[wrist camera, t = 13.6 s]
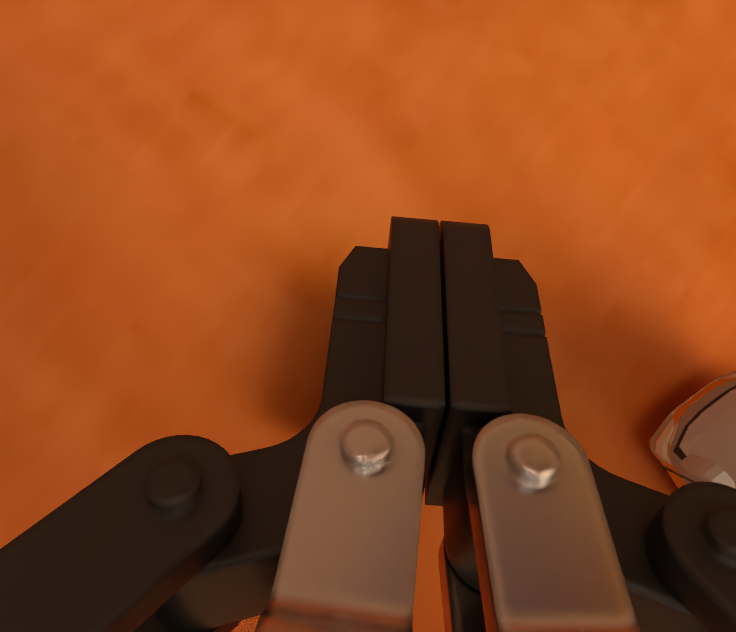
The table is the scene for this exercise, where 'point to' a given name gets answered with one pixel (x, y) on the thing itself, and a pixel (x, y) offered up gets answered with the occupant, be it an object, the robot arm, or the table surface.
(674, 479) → the toy bus
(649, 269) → the table surface
